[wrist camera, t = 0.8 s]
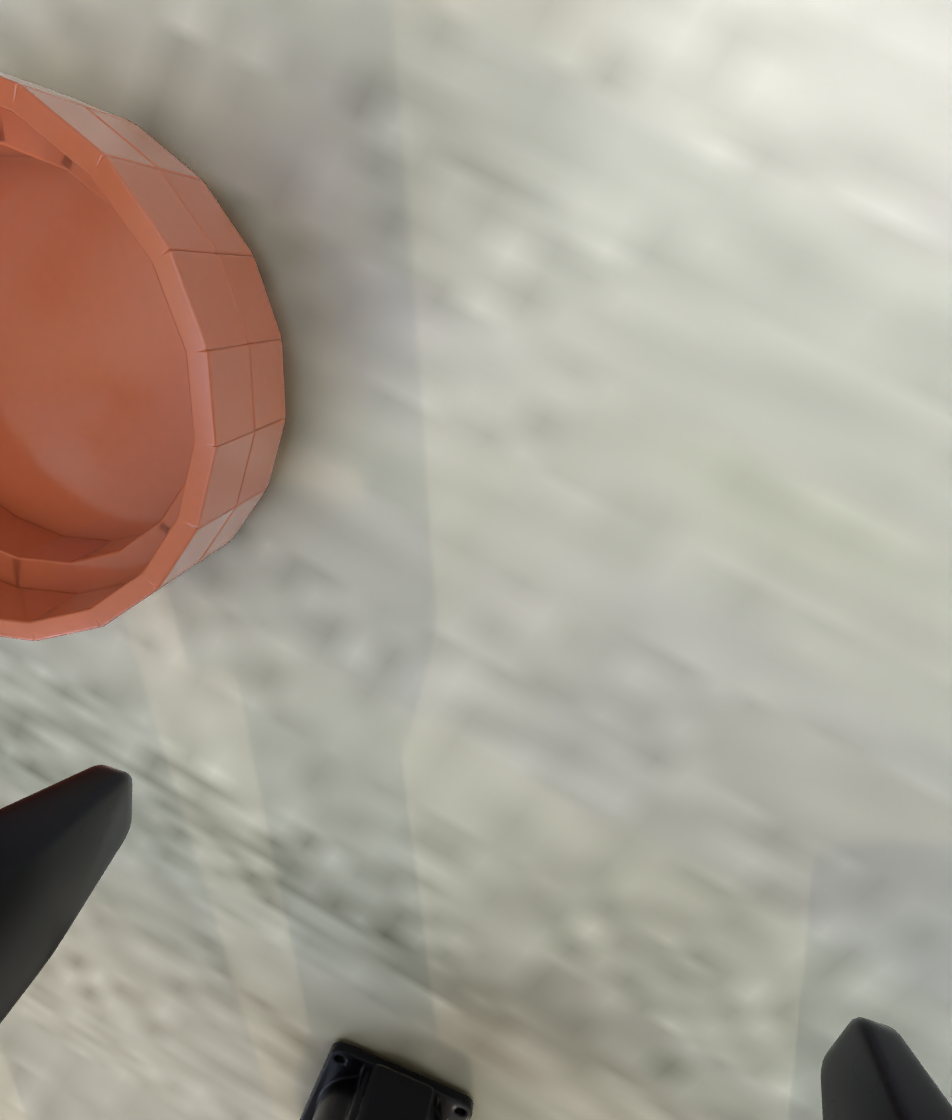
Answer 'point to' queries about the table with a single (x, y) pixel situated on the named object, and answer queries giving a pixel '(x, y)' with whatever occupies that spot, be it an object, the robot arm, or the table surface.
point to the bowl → (119, 367)
